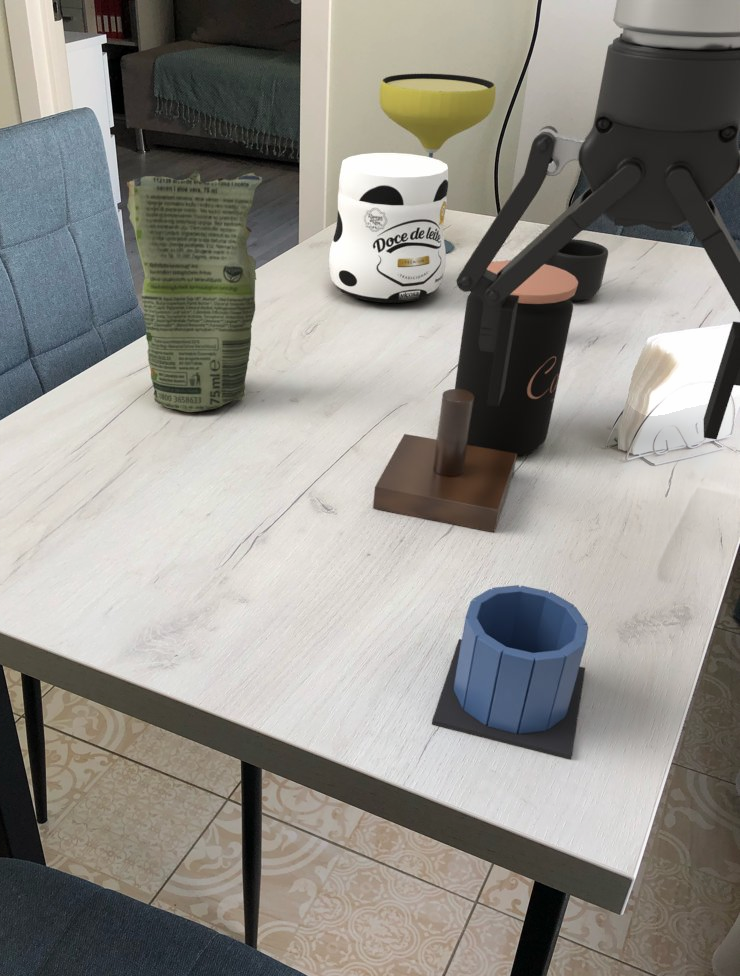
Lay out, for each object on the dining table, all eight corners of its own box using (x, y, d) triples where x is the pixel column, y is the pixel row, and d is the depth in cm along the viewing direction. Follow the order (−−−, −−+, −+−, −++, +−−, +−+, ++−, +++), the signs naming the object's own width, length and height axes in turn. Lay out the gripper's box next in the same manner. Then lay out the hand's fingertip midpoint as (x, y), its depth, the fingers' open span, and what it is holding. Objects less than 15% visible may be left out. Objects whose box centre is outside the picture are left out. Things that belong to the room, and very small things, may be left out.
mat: (584, 671, 74) (585, 667, 73) (570, 759, 66) (572, 755, 66) (458, 642, 76) (459, 638, 76) (431, 724, 69) (432, 720, 68)
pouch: (132, 397, 111) (113, 172, 96) (202, 367, 119) (195, 153, 104) (200, 426, 106) (191, 191, 91) (269, 393, 113) (271, 170, 98)
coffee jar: (527, 470, 99) (561, 302, 88) (434, 445, 103) (454, 281, 92) (557, 431, 107) (591, 271, 96) (468, 409, 111) (491, 253, 100)
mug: (593, 287, 146) (603, 240, 142) (603, 307, 139) (614, 258, 135) (515, 283, 147) (523, 236, 143) (521, 303, 140) (529, 254, 136)
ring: (573, 671, 73) (592, 600, 69) (561, 745, 67) (581, 671, 62) (466, 647, 75) (478, 576, 71) (444, 716, 69) (456, 642, 64)
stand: (513, 474, 98) (530, 380, 92) (494, 532, 89) (512, 433, 83) (402, 454, 101) (411, 362, 95) (372, 508, 92) (381, 410, 86)
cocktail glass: (486, 239, 165) (508, 79, 150) (457, 268, 152) (479, 96, 137) (389, 225, 171) (401, 70, 156) (353, 252, 158) (363, 85, 143)
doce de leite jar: (411, 320, 133) (424, 186, 122) (306, 296, 140) (310, 167, 129) (460, 287, 145) (476, 161, 134) (361, 266, 152) (369, 145, 141)
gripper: (432, 33, 49) (400, 408, 62) (975, 60, 42) (812, 472, 55) (459, 18, 54) (424, 364, 67) (941, 40, 48) (801, 417, 61)
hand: (599, 413), depth 61 cm, fingers open, 13 cm apart
